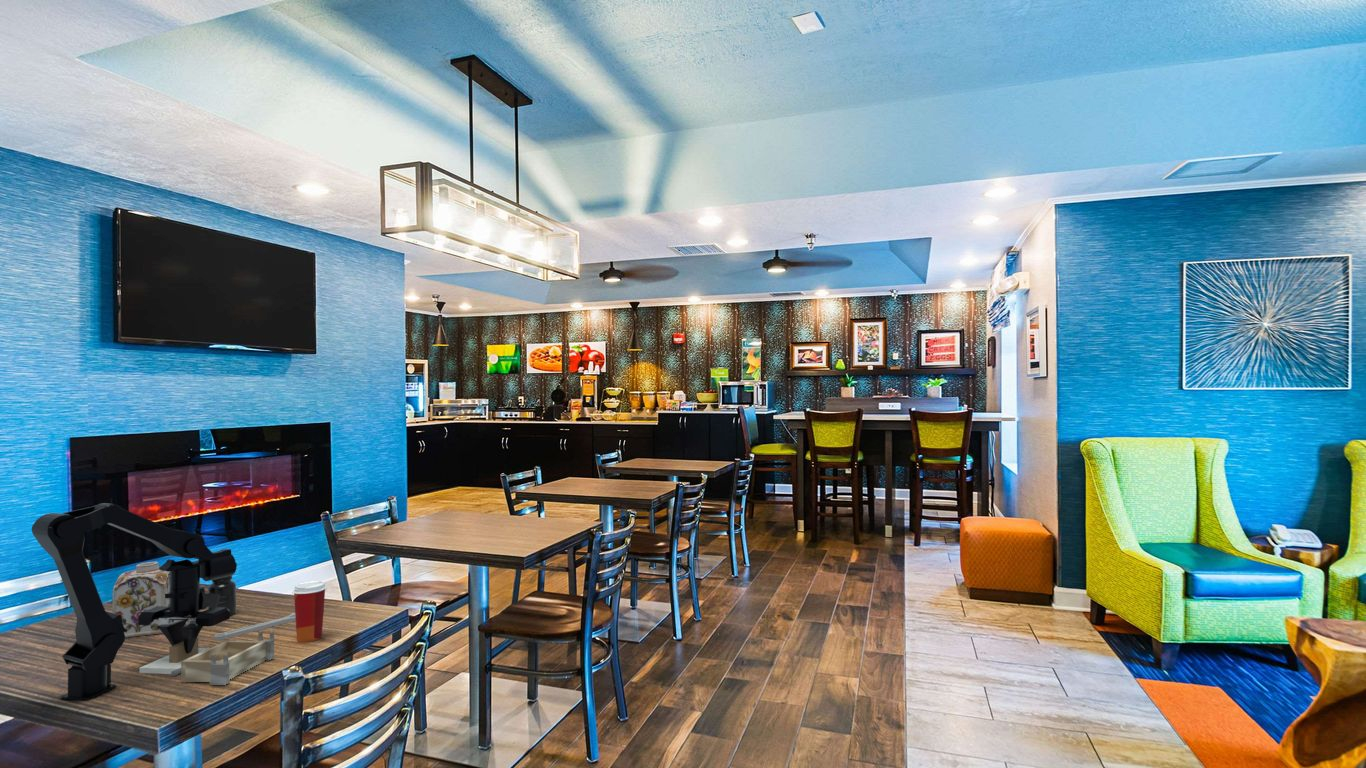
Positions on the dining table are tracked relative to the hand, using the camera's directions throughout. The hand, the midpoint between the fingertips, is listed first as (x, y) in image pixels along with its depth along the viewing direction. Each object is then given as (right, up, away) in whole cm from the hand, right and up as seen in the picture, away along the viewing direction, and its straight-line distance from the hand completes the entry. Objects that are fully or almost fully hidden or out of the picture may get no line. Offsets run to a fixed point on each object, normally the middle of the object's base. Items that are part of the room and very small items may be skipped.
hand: (184, 652), depth 157 cm
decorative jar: (-28, -3, +23) cm, 36 cm away
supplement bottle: (-16, -4, +35) cm, 39 cm away
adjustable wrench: (+4, -4, +26) cm, 26 cm away
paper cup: (+21, -3, +15) cm, 26 cm away
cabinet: (+13, -2, -5) cm, 14 cm away
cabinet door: (0, -2, 0) cm, 2 cm away
